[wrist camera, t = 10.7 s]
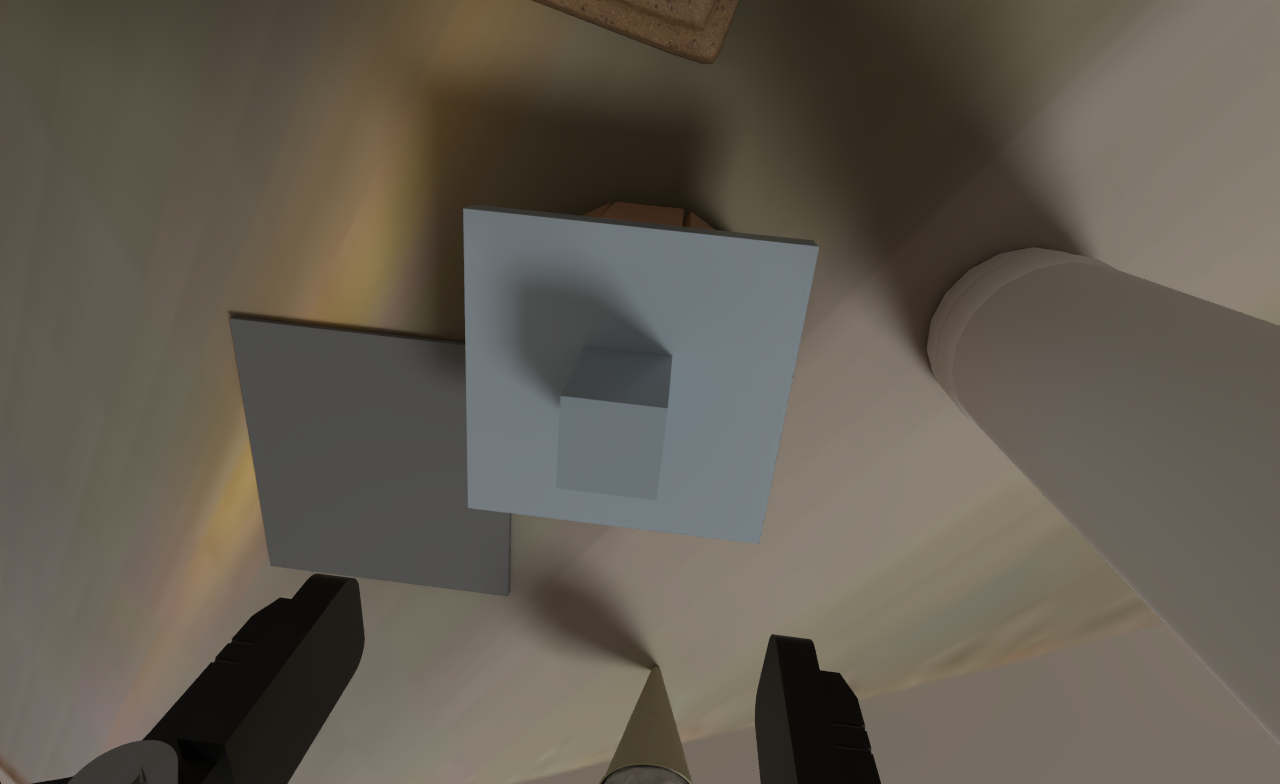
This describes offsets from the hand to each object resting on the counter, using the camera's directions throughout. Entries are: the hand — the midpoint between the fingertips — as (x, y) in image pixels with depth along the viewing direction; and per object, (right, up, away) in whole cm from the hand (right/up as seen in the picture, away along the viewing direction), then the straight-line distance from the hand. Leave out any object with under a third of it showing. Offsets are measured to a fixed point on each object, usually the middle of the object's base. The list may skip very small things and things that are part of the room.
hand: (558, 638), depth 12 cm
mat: (-12, +1, +22) cm, 25 cm away
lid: (+1, +5, +12) cm, 14 cm away
